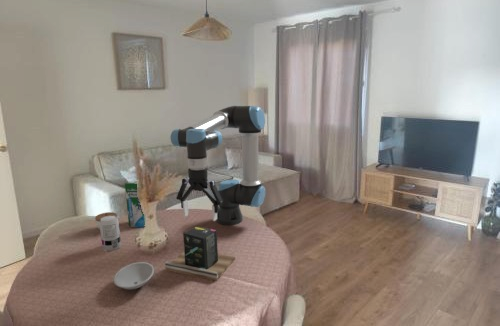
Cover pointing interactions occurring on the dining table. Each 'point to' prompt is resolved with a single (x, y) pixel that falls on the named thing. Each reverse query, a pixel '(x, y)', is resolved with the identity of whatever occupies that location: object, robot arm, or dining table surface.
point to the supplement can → (110, 233)
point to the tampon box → (200, 247)
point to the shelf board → (210, 273)
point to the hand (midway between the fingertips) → (200, 217)
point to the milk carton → (134, 206)
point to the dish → (133, 275)
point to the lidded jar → (102, 217)
